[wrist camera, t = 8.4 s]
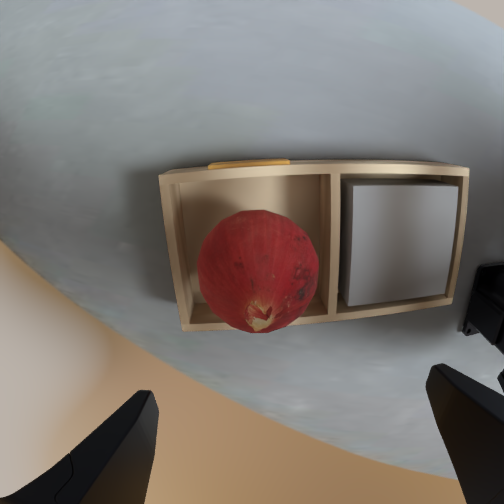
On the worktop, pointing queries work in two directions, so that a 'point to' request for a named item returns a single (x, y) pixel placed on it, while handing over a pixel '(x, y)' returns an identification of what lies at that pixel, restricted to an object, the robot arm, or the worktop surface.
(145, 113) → the worktop surface
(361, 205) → the wooden compartment tray
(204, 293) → the red rounded piece
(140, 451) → the robot arm
